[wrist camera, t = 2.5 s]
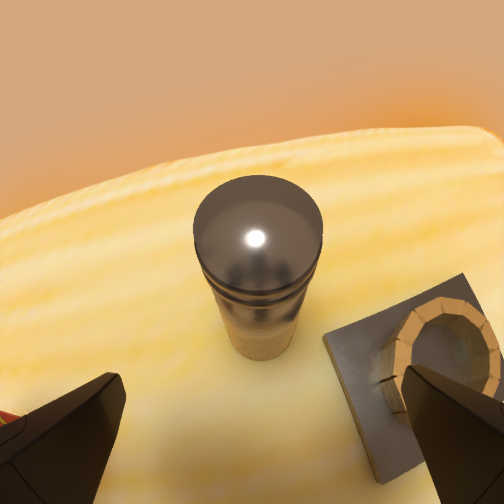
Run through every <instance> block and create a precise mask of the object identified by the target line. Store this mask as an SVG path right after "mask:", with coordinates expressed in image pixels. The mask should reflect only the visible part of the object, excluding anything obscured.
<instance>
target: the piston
mask: <svg viewBox="0 0 504 504" xmlns="http://www.w3.org/2000/svg"><path fill="white" fill-rule="evenodd" d="M193 234H194V245H195V251H196V254H197V257H198V260H199V263H200V265H201V268H202V271H203V274H204V276H205V278H206V280H207V282H208V284H209V285H210V287H211V288H212V291H213V294H214V296H215V299H216V302H217V305H218V307H219V310H220V313H221V315H222V318H223V321H224V323H225V326H226V328H227V331H228V334H229V336H230V339H231V341H232V344H233V346H234V347H235V349H236V350H237V351H238V352H239V353H240V354H241V355H243V356H244V357H246V358H249V359H251V360H256V361H265V360H270V359H273V358H275V357H277V356H279V355H280V354H281V353H283V352H284V351H285V349H286V348H287V347H288V345H289V343H290V341H291V338H292V335H293V332H294V329H295V326H296V322H297V319H298V316H299V313H300V310H301V307H302V304H303V300H304V297H305V294H306V291H307V287H308V285H309V283H310V281H311V279H312V278H313V275H314V272H315V269H316V266H317V262H318V259H319V256H320V253H321V248H322V238H323V237H322V234H323V221H322V216H321V213H320V210H319V208H318V206H317V205H316V203H315V201H314V200H313V199H312V198H311V196H310V195H309V194H308V193H307V192H305V191H304V190H303V189H302V188H300V187H299V186H297V185H295V184H294V183H292V182H289V181H287V180H285V179H281V178H278V177H273V176H266V175H252V176H244V177H239V178H236V179H233V180H230V181H228V182H226V183H224V184H222V185H220V186H218V187H217V188H216V189H214V190H213V191H212V192H211V193H209V194H208V195H207V196H206V198H205V199H204V200H203V201H202V203H201V204H200V206H199V208H198V210H197V212H196V215H195V218H194V223H193Z"/></svg>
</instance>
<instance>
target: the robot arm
mask: <svg viewBox="0 0 504 504" xmlns="http://www.w3.org/2000/svg"><path fill="white" fill-rule="evenodd" d="M401 393H402V397H403V400H404V403H405V406H406V410H407V413H408V417H409V420H410V424H411V427H412V430H413V432H414V435H415V437H416V440H417V442H418V444H419V447H420V449H421V452H422V454H423V457H424V459H425V462H426V464H427V467H428V470H429V472H430V475H431V477H432V480H433V483H434V485H435V488H436V491H437V494H438V496H439V499H440V502H441V504H504V403H503V402H501V401H500V402H499V400H497V399H494V398H492V397H490V396H488V395H485V394H483V393H481V392H479V391H477V390H474V389H472V388H470V387H468V386H466V385H464V384H461V383H459V382H457V381H455V380H453V379H451V378H448V377H446V376H444V375H442V374H440V373H438V372H436V371H433V370H431V369H429V368H427V367H425V366H423V365H421V364H412V365H408V366H407V367H406V369H405V373H404V376H403V380H402V384H401ZM125 402H126V392H125V389H124V386H123V383H122V379H121V377H120V375H119V374H118V373H111V372H107V373H105V374H103V375H101V376H99V377H97V378H95V379H94V380H92V381H90V382H88V383H86V384H84V385H82V386H80V387H79V388H77V389H75V390H73V391H71V392H69V393H67V394H65V395H63V396H61V397H59V398H58V399H56V400H54V401H52V402H50V403H48V404H46V405H44V406H42V407H40V408H38V409H36V410H34V411H32V412H30V413H28V415H24V416H22V417H20V418H18V419H16V420H14V421H12V422H9V423H7V424H5V425H2V426H0V504H93V502H94V499H95V496H96V493H97V490H98V487H99V484H100V481H101V478H102V475H103V473H104V470H105V467H106V464H107V462H108V459H109V456H110V453H111V451H112V448H113V445H114V443H115V440H116V437H117V433H118V429H119V425H120V421H121V417H122V413H123V409H124V405H125Z"/></svg>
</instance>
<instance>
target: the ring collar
mask: <svg viewBox="0 0 504 504" xmlns="http://www.w3.org/2000/svg"><path fill="white" fill-rule="evenodd" d="M323 340H324V343H325V345H326V348H327V350H328V353H329V355H330V358H331V360H332V363H333V365H334V368H335V370H336V373H337V375H338V378H339V380H340V383H341V386H342V388H343V391H344V393H345V396H346V398H347V401H348V404H349V406H350V409H351V412H352V414H353V417H354V419H355V422H356V425H357V427H358V430H359V433H360V435H361V438H362V441H363V444H364V446H365V449H366V452H367V454H368V457H369V460H370V463H371V465H372V468H373V471H374V474H375V477H376V480H377V482H378V483H380V484H382V485H383V484H385V483H387V482H389V481H391V480H393V479H395V478H396V477H398V476H400V475H402V474H404V473H405V472H407V471H409V470H410V469H412V468H414V467H416V466H417V465H419V464H420V463H422V462H424V461H425V459H424V457H423V454H422V452H421V449H420V447H419V444H418V442H417V440H416V437H415V435H414V432H413V430H412V427H411V424H410V420H409V417H408V413H407V410H406V406H405V403H404V400H403V397H402V393H401V384H402V380H403V376H404V373H405V369H406V367H407V366H408V365H412V364H421V365H423V366H425V367H427V368H429V369H431V370H433V371H436V372H438V373H440V374H442V375H444V376H446V377H448V378H451V379H453V380H455V381H457V382H459V383H461V384H464V385H466V386H468V387H470V388H472V389H474V390H477V391H479V392H481V393H483V394H485V395H488V396H490V397H492V398H494V399H497V400H499V402H500V401H501V402H503V401H504V359H503V356H502V354H501V351H500V349H499V344H498V341H497V339H496V337H495V334H494V332H493V330H492V328H491V325H490V323H489V321H487V318H486V317H485V315H484V313H483V310H482V308H481V306H480V304H479V302H478V300H477V298H476V296H475V294H474V292H473V291H472V289H471V287H470V285H469V283H468V281H467V279H466V277H465V276H464V274H463V273H461V274H459V275H457V276H455V277H453V278H451V279H449V280H447V281H445V282H443V283H441V284H439V285H437V286H435V287H433V288H431V289H429V290H427V291H425V292H423V293H421V294H419V295H417V296H414V297H412V298H410V299H408V300H406V301H404V302H401V303H399V304H397V305H395V306H392V307H390V308H388V309H386V310H383V311H381V312H379V313H376V314H374V315H371V316H369V317H367V318H364V319H362V320H359V321H357V322H354V323H352V324H349V325H347V326H344V327H342V328H339V329H337V330H334V331H331V332H329V333H326V334H325V335H324V336H323Z"/></svg>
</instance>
